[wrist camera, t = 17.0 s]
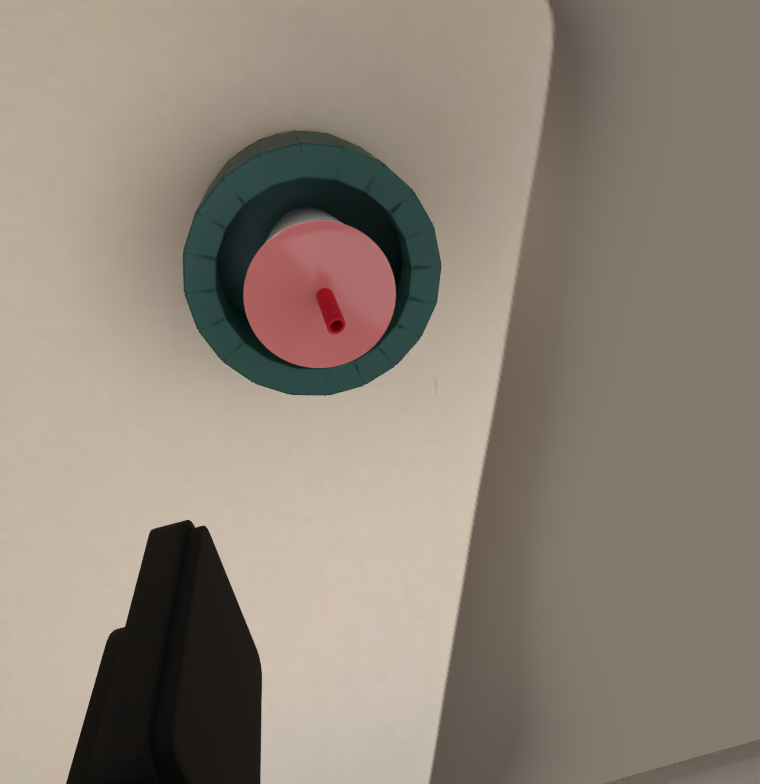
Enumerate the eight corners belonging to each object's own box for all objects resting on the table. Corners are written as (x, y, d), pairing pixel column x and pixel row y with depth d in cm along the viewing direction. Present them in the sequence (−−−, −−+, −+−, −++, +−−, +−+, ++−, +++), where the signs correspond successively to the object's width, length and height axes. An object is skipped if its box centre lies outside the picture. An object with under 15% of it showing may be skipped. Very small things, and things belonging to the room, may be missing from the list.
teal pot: (168, 162, 31) (143, 183, 25) (382, 106, 31) (411, 113, 25) (237, 361, 35) (231, 422, 29) (425, 309, 35) (460, 359, 29)
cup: (384, 261, 34) (441, 348, 23) (290, 319, 34) (302, 431, 23) (325, 161, 31) (357, 204, 21) (225, 225, 32) (204, 300, 21)
